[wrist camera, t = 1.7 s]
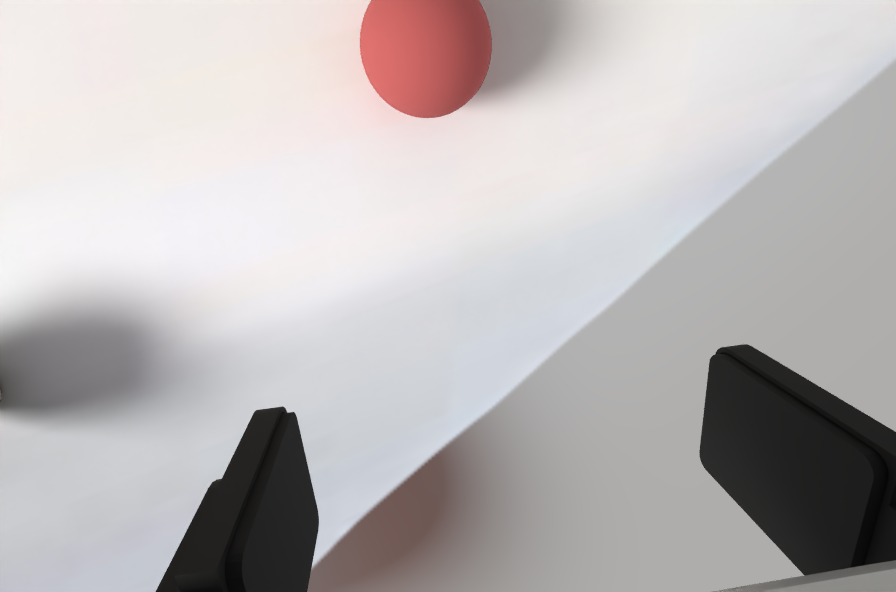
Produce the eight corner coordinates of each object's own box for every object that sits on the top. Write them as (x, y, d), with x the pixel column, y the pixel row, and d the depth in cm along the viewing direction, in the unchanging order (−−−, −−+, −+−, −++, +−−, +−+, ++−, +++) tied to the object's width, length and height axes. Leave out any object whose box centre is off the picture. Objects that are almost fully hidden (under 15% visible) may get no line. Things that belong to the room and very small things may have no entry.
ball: (354, -5, 23) (343, -47, 18) (474, -14, 24) (500, -58, 18) (372, 124, 25) (368, 123, 20) (482, 113, 26) (508, 109, 20)
